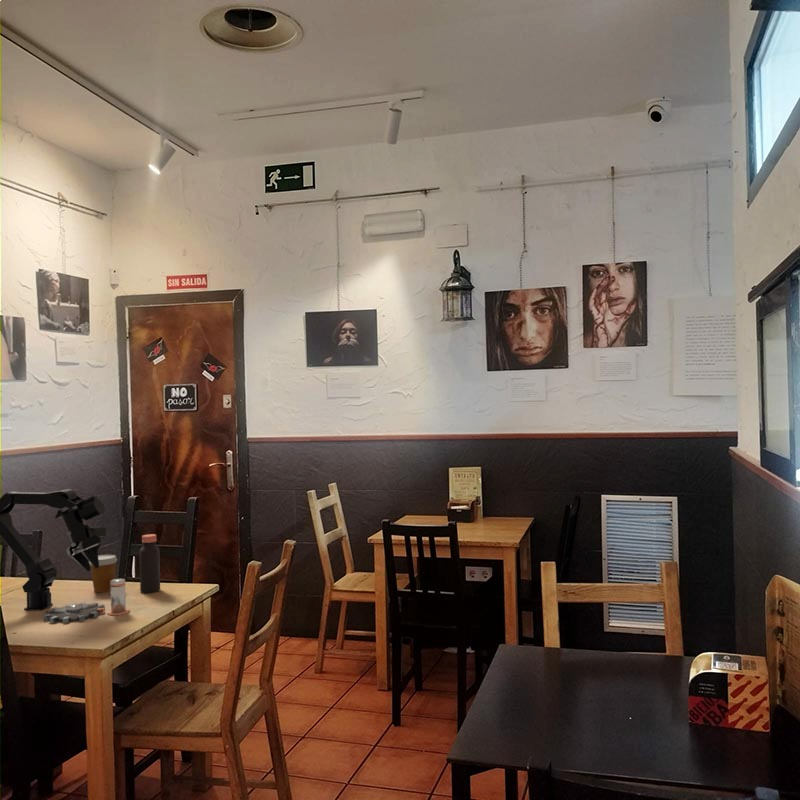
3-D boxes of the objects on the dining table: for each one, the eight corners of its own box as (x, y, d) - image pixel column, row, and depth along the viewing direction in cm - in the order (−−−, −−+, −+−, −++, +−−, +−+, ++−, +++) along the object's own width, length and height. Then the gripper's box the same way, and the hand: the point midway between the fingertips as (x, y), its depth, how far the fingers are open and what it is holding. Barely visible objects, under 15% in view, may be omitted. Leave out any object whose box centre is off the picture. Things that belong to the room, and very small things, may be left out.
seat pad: (103, 615, 230) (103, 614, 230) (112, 609, 237) (112, 608, 237) (124, 615, 230) (124, 614, 230) (133, 609, 237) (133, 608, 237)
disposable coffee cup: (111, 593, 257) (110, 559, 257) (84, 594, 257) (84, 560, 257) (121, 586, 267) (121, 554, 267) (95, 587, 267) (95, 554, 267)
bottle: (139, 594, 255) (138, 537, 255) (140, 589, 262) (139, 534, 262) (159, 592, 257) (158, 536, 257) (160, 587, 264) (159, 533, 264)
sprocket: (30, 622, 224) (30, 612, 224) (67, 606, 242) (67, 597, 242) (82, 624, 221) (82, 614, 221) (116, 607, 239) (116, 598, 239)
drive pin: (110, 614, 230) (109, 582, 230) (111, 610, 235) (110, 579, 235) (125, 612, 232) (124, 581, 232) (126, 608, 236) (125, 578, 236)
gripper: (107, 512, 238) (125, 556, 238) (90, 520, 252) (107, 562, 252) (74, 525, 231) (92, 570, 230) (58, 533, 244) (75, 576, 244)
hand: (93, 569), depth 239 cm, fingers open, 9 cm apart
